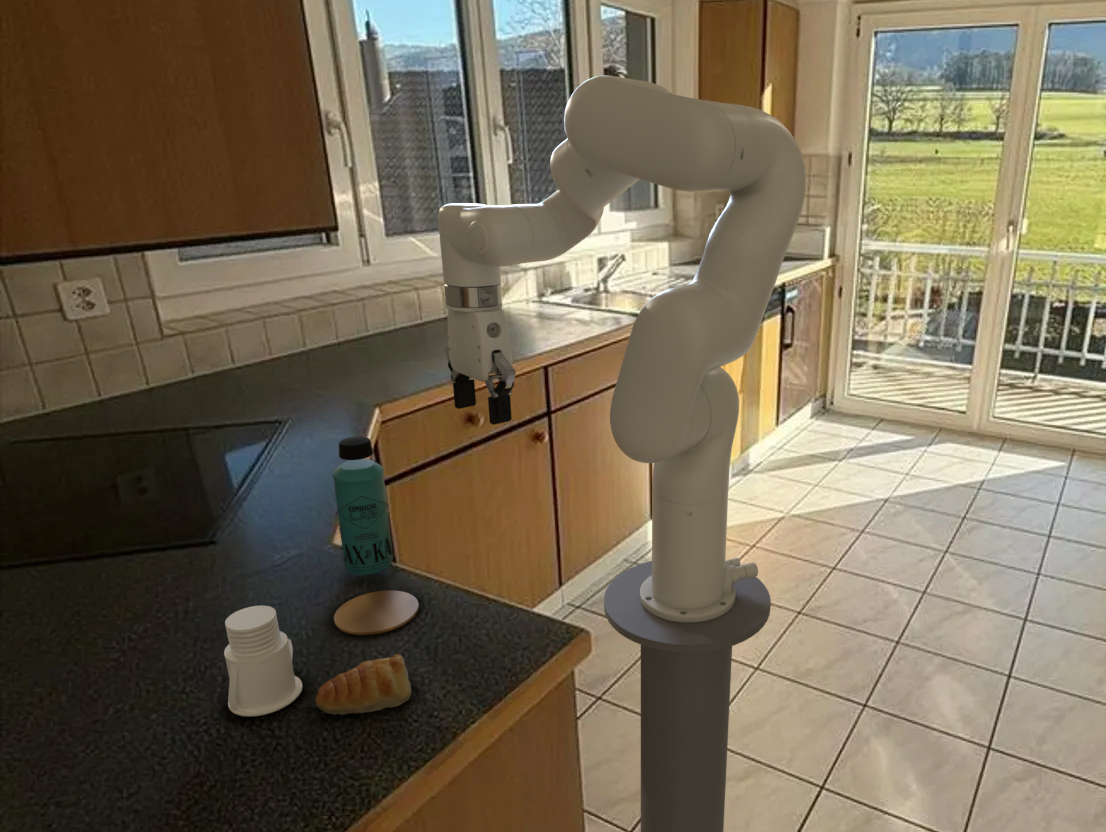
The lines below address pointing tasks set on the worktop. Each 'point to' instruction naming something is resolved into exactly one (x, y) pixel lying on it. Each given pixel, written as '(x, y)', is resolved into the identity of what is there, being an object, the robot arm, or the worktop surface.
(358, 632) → the cork coaster
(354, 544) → the beverage bottle
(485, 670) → the worktop surface
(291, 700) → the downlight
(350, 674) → the pastry
